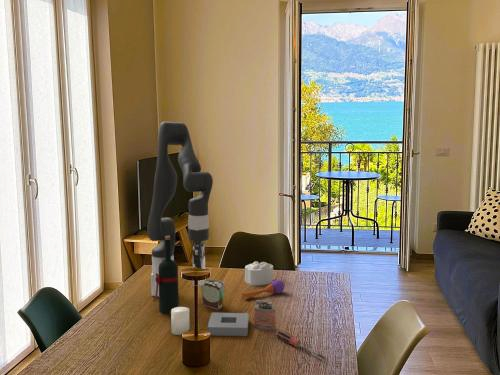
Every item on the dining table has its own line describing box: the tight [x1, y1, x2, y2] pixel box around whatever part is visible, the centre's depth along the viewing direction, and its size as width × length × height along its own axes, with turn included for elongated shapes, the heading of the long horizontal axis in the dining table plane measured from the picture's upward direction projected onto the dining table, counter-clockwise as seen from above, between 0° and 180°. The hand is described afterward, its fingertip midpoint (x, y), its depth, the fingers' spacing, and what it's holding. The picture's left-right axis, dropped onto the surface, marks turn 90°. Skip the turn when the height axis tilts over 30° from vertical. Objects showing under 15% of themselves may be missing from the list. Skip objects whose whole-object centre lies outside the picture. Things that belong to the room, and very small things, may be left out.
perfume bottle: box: [253, 299, 276, 331], centre depth 195 cm, size 8×3×10 cm, turn 71°
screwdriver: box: [275, 329, 327, 360], centre depth 178 cm, size 25×3×3 cm, turn 35°
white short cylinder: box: [170, 306, 191, 336], centre depth 191 cm, size 6×6×8 cm
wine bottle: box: [152, 236, 180, 315], centre depth 210 cm, size 8×10×30 cm
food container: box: [200, 278, 226, 311], centre depth 217 cm, size 12×6×10 cm, turn 47°
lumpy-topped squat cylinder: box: [244, 261, 274, 286], centre depth 250 cm, size 10×13×9 cm
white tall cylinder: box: [192, 255, 206, 286], centre depth 197 cm, size 4×4×10 cm
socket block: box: [206, 312, 250, 337], centre depth 195 cm, size 14×14×3 cm
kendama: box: [241, 279, 285, 301], centre depth 230 cm, size 6×6×20 cm
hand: (199, 272), depth 197 cm, fingers closed on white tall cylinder, 4 cm apart
